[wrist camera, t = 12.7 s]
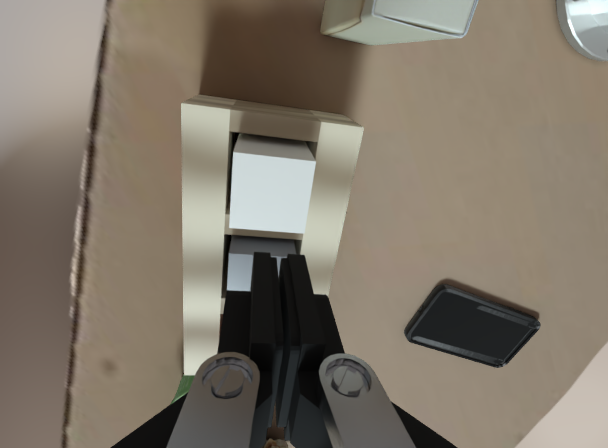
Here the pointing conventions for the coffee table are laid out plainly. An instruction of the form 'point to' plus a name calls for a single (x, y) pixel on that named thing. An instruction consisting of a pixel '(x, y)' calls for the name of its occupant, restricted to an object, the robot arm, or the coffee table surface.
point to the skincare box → (396, 20)
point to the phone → (470, 327)
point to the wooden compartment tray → (217, 196)
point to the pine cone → (275, 444)
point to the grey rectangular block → (243, 257)
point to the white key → (271, 184)
